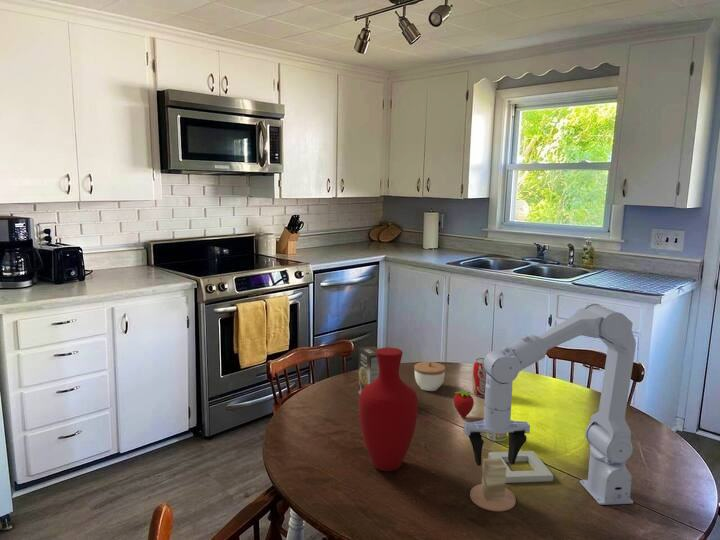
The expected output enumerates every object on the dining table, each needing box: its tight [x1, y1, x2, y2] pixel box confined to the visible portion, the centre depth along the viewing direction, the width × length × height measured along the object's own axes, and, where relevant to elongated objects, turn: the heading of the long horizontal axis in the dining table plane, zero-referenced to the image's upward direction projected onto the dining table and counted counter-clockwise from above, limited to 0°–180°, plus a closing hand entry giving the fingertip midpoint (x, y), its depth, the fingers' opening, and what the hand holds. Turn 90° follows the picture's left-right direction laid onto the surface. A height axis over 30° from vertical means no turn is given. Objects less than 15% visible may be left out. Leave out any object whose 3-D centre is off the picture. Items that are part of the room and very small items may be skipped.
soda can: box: [472, 357, 486, 398], centre depth 181 cm, size 7×7×12 cm
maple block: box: [481, 457, 506, 501], centre depth 121 cm, size 4×4×8 cm
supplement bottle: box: [486, 433, 508, 442], centre depth 150 cm, size 5×5×10 cm
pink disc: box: [469, 483, 517, 512], centre depth 121 cm, size 10×10×1 cm
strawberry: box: [452, 389, 475, 419], centre depth 162 cm, size 6×8×10 cm
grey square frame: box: [487, 450, 554, 484], centre depth 134 cm, size 12×12×2 cm
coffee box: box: [357, 345, 379, 395], centre depth 177 cm, size 9×6×16 cm
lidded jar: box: [413, 361, 446, 392], centre depth 187 cm, size 11×11×9 cm
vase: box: [358, 346, 419, 472], centre depth 133 cm, size 15×15×30 cm
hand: (494, 462), depth 120 cm, fingers open, 7 cm apart
